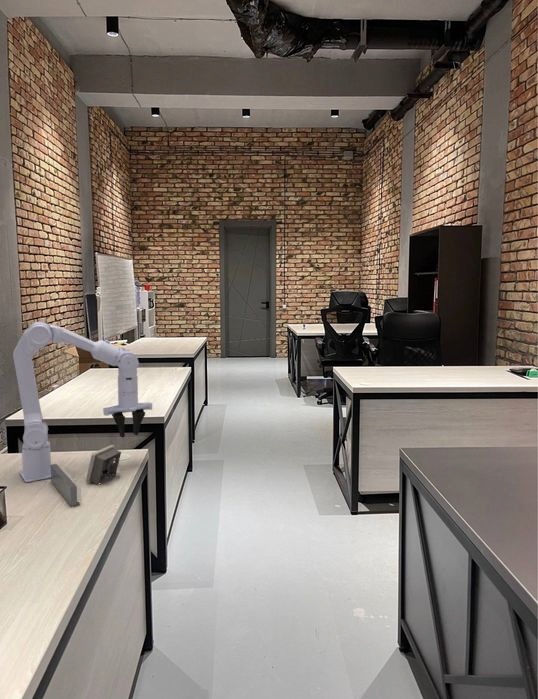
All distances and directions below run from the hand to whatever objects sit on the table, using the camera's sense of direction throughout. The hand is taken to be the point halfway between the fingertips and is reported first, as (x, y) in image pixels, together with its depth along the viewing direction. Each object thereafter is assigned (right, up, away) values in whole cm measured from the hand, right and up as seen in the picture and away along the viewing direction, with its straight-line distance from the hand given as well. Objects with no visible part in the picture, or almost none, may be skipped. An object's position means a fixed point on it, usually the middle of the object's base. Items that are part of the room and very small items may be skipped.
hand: (128, 435), depth 161 cm
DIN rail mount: (-12, -12, -20) cm, 27 cm away
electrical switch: (-4, -11, -10) cm, 16 cm away
